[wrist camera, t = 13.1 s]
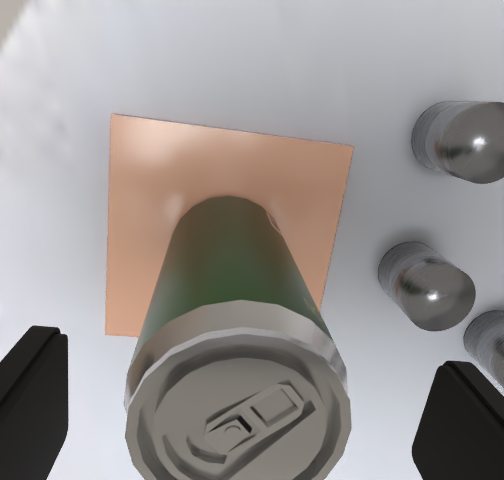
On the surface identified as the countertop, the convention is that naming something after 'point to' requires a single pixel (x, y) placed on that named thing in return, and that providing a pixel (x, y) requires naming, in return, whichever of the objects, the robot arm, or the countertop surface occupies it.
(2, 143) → the countertop surface
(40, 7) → the countertop surface
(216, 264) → the beer can
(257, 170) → the terracotta tile
